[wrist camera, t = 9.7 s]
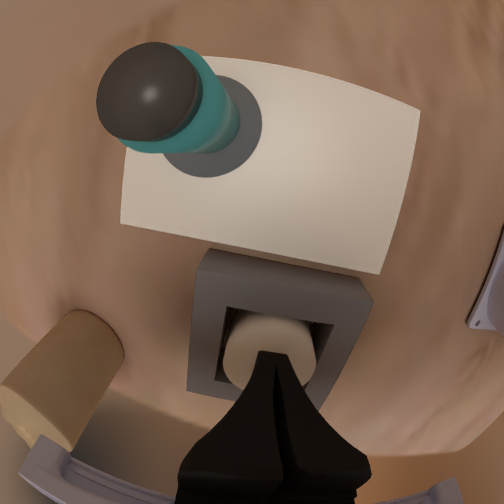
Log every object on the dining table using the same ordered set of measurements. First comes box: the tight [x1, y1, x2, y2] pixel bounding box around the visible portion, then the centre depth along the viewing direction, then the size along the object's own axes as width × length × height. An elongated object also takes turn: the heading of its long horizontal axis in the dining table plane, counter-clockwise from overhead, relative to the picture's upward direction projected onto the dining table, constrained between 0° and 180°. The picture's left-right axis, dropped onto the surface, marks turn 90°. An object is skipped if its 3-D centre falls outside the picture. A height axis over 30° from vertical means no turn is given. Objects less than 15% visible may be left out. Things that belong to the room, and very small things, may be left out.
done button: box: [223, 309, 316, 390], centre depth 14 cm, size 4×4×3 cm
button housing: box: [187, 248, 374, 411], centre depth 14 cm, size 8×8×3 cm
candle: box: [0, 310, 124, 452], centre depth 12 cm, size 6×6×10 cm
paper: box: [120, 56, 420, 275], centre depth 12 cm, size 14×9×1 cm, turn 79°
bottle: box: [96, 42, 240, 154], centre depth 8 cm, size 3×3×7 cm
